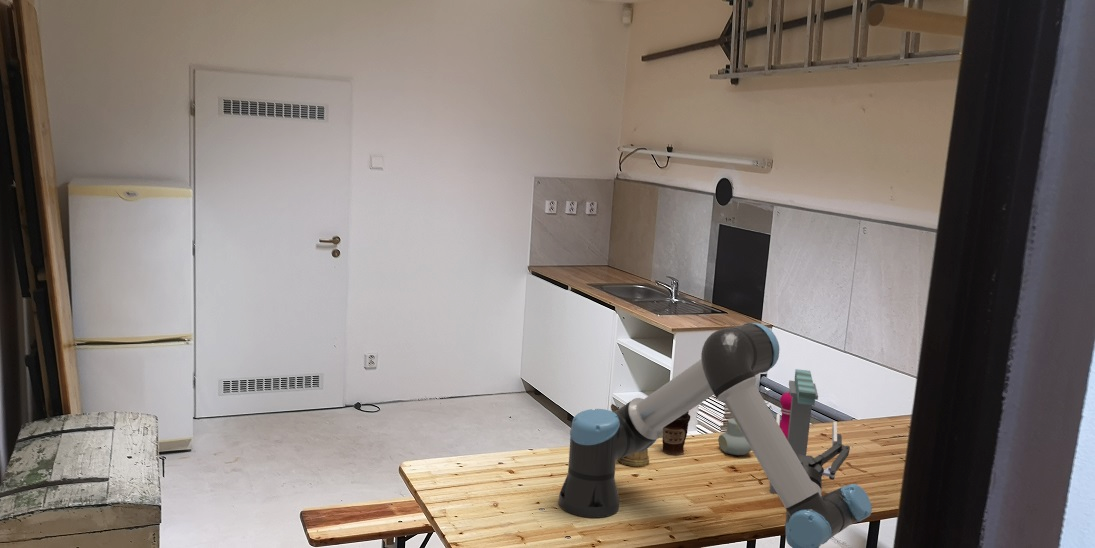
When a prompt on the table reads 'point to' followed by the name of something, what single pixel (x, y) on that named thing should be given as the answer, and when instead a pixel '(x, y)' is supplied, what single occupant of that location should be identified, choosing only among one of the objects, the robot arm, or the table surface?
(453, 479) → the table surface
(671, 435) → the coffee cup
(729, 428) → the air freshener
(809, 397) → the block
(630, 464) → the wooden mug
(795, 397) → the stand
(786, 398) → the pepper mill
